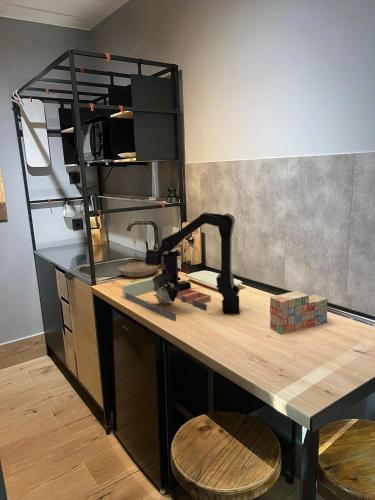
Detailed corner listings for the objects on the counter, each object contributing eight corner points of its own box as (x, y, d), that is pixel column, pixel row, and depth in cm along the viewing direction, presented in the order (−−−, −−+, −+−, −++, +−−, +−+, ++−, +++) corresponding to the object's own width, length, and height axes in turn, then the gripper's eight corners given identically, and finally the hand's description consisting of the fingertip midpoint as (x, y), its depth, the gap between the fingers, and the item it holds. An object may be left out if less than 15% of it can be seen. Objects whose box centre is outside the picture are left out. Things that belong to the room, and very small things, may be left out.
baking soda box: (176, 268, 223) (174, 242, 220) (183, 270, 218) (181, 243, 215) (163, 271, 217) (161, 244, 214) (170, 273, 212) (168, 246, 209)
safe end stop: (155, 290, 183) (155, 278, 182) (125, 298, 173) (124, 286, 172) (152, 289, 185) (152, 277, 184) (123, 297, 175) (122, 284, 173)
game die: (168, 310, 165) (180, 291, 166) (165, 310, 157) (177, 290, 158) (152, 300, 167) (163, 281, 168) (147, 299, 159) (159, 279, 159)
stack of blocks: (314, 317, 143) (315, 286, 141) (327, 322, 138) (328, 290, 135) (269, 328, 135) (269, 296, 132) (280, 335, 129) (281, 301, 127)
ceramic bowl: (167, 273, 213) (167, 265, 212) (133, 282, 198) (133, 273, 197) (143, 267, 230) (142, 259, 229) (110, 275, 214) (109, 266, 213)
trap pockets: (210, 300, 165) (210, 295, 165) (195, 305, 160) (195, 300, 159) (188, 292, 177) (188, 287, 177) (173, 297, 172) (173, 292, 171)
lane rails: (206, 310, 154) (206, 304, 154) (174, 321, 144) (174, 315, 144) (155, 290, 183) (155, 285, 183) (125, 298, 173) (125, 293, 172)
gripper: (142, 266, 157) (144, 301, 160) (168, 273, 143) (170, 312, 146) (163, 261, 164) (165, 295, 167) (191, 268, 150) (192, 305, 153)
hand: (172, 301), depth 158 cm, fingers closed
